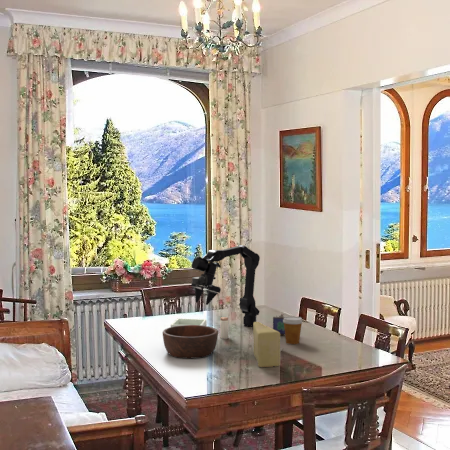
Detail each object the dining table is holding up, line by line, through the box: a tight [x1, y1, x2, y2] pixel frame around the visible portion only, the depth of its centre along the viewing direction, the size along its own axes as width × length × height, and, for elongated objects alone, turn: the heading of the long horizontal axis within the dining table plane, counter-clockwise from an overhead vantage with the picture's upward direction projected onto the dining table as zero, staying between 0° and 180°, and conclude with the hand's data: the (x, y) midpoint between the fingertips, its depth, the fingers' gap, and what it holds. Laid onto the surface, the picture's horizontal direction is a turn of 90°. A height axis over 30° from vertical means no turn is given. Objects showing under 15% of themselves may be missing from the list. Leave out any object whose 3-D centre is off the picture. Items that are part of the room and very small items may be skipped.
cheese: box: [252, 321, 281, 368], centre depth 272 cm, size 22×10×15 cm, turn 13°
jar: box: [219, 316, 229, 340], centre depth 313 cm, size 4×4×10 cm
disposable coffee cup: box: [283, 315, 304, 345], centre depth 303 cm, size 10×10×12 cm
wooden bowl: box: [162, 325, 219, 359], centre depth 284 cm, size 25×25×10 cm
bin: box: [170, 318, 208, 327], centre depth 331 cm, size 16×16×4 cm
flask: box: [272, 313, 285, 336], centre depth 321 cm, size 9×3×11 cm, turn 87°
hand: (201, 303), depth 321 cm, fingers open, 9 cm apart
